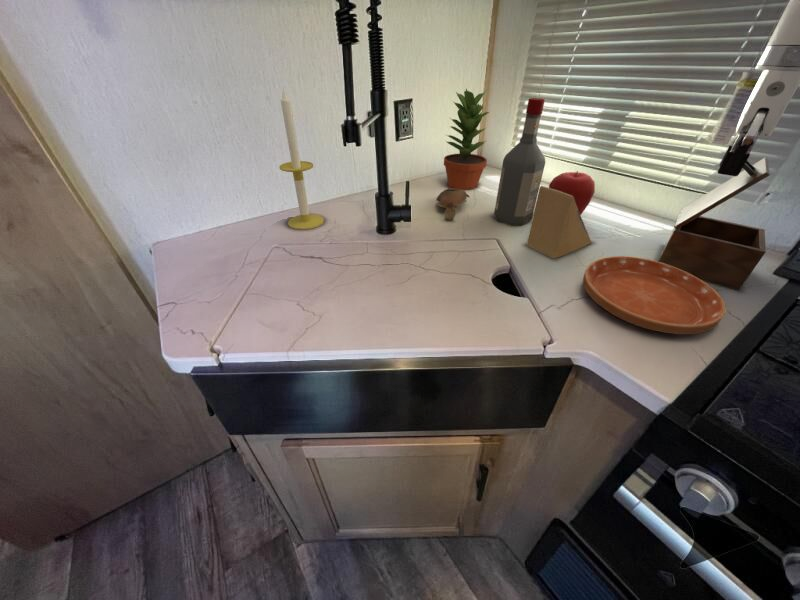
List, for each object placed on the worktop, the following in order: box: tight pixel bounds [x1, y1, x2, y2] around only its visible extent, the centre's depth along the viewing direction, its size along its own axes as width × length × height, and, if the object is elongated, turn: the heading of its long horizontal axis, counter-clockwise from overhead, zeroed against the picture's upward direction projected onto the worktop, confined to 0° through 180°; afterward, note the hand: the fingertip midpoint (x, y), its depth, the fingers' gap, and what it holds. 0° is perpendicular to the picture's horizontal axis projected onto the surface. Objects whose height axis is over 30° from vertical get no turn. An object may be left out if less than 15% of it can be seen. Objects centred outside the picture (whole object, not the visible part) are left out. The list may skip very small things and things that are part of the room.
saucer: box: [582, 255, 726, 335], centre depth 67 cm, size 23×23×4 cm
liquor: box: [493, 97, 546, 227], centre depth 91 cm, size 9×9×30 cm
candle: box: [279, 87, 325, 230], centre depth 89 cm, size 10×10×32 cm
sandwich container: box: [526, 185, 593, 259], centre depth 83 cm, size 9×15×15 cm, turn 123°
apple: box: [548, 170, 596, 216], centre depth 97 cm, size 12×12×13 cm
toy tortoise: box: [435, 187, 471, 222], centre depth 105 cm, size 20×5×10 cm
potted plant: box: [443, 87, 490, 191], centre depth 115 cm, size 15×15×30 cm
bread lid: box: [673, 157, 771, 229], centre depth 71 cm, size 16×13×5 cm
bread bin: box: [657, 215, 767, 291], centre depth 76 cm, size 15×13×9 cm
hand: (728, 170), depth 69 cm, fingers closed on bread lid, 5 cm apart
